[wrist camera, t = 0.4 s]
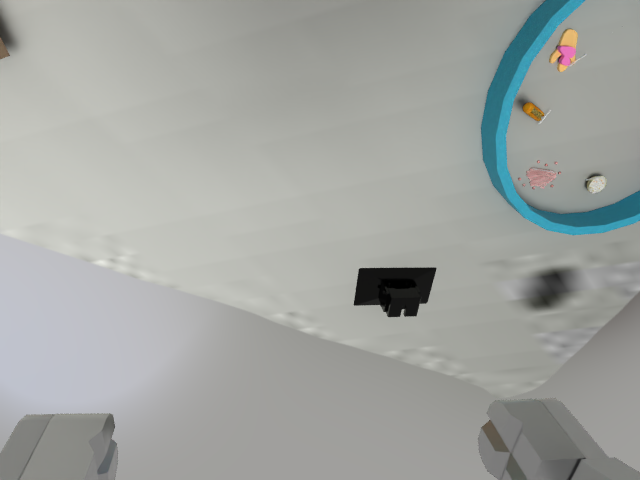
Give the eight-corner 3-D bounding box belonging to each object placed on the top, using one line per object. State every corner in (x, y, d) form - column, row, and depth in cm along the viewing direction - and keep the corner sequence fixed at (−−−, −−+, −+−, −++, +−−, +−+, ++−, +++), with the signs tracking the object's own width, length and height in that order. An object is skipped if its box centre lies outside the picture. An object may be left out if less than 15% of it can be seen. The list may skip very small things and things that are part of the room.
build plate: (342, 306, 60) (349, 331, 56) (349, 259, 56) (356, 282, 52) (433, 304, 62) (446, 328, 58) (446, 259, 58) (461, 281, 54)
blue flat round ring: (641, 230, 60) (677, 254, 55) (442, 206, 54) (462, 230, 49) (802, -19, 45) (871, -18, 40) (554, -94, 39) (599, -104, 34)
